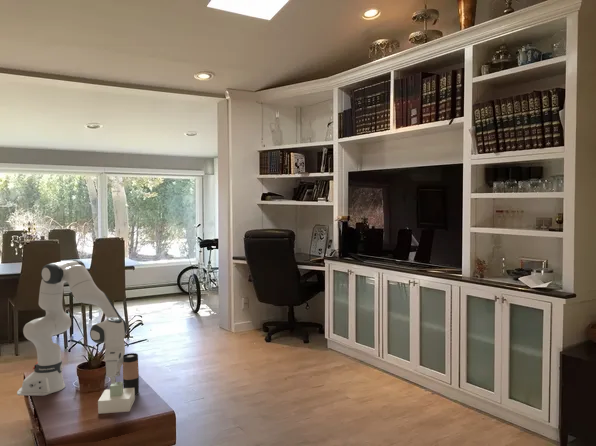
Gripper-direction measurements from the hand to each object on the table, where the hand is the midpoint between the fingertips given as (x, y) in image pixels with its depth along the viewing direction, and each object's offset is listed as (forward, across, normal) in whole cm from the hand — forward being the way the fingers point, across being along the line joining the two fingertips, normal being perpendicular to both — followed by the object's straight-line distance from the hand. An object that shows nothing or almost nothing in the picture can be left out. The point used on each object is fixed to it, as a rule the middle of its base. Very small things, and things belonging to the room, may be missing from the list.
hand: (115, 379), depth 235 cm
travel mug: (+13, -15, +4) cm, 20 cm away
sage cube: (+7, 0, 0) cm, 7 cm away
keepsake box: (+13, 0, 0) cm, 13 cm away
